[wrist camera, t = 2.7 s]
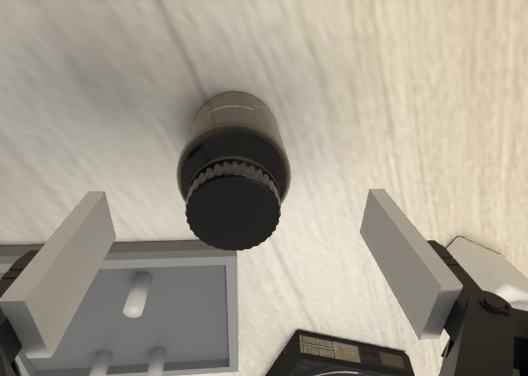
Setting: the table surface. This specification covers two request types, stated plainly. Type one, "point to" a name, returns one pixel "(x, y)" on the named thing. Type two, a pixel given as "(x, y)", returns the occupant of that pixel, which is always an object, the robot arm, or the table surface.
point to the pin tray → (148, 313)
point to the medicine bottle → (491, 272)
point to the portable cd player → (337, 358)
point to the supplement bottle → (233, 173)
